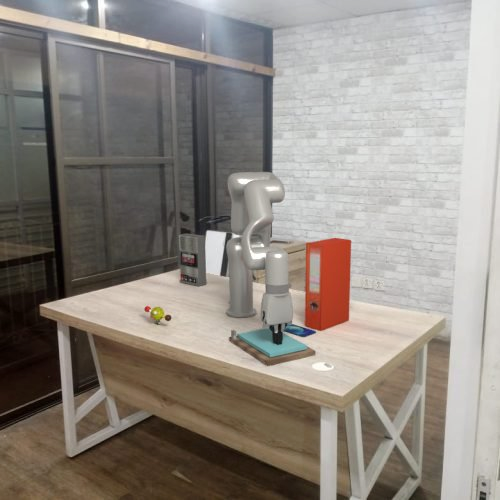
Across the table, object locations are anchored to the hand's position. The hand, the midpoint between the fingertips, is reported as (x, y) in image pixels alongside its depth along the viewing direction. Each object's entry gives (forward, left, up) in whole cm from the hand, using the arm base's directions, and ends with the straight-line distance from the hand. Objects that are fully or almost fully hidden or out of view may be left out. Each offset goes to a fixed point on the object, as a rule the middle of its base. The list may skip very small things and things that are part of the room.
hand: (277, 343), depth 171 cm
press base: (-5, 0, -3) cm, 6 cm away
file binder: (-16, +32, -3) cm, 36 cm away
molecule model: (-49, -24, -3) cm, 55 cm away
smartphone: (-16, +17, -4) cm, 24 cm away
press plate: (-5, 0, -1) cm, 5 cm away
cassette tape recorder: (-104, +13, -3) cm, 105 cm away
